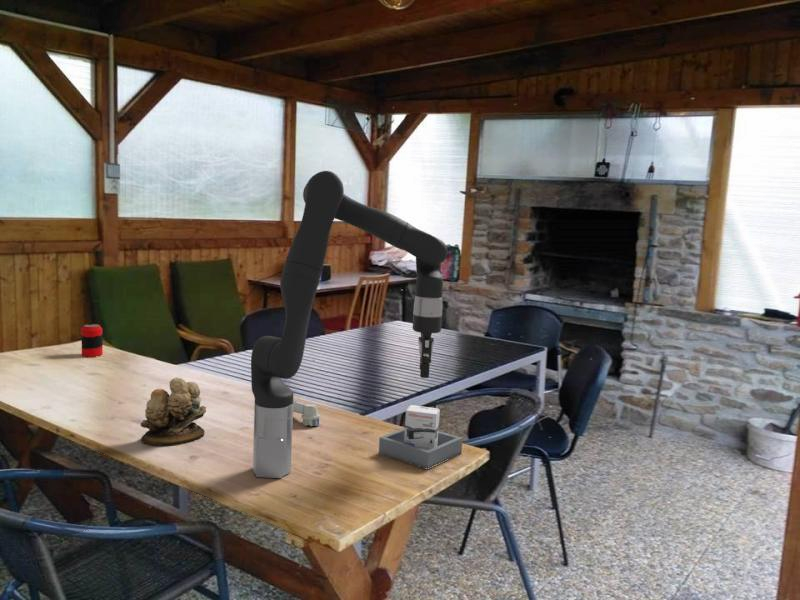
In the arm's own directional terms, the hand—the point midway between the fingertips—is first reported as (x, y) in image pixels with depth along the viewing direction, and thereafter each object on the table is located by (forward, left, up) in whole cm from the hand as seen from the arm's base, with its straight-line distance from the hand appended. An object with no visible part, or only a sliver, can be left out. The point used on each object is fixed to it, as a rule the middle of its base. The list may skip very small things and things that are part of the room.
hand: (423, 373), depth 186 cm
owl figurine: (+3, +67, -22) cm, 70 cm away
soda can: (+90, +127, -22) cm, 157 cm away
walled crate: (0, 0, -22) cm, 22 cm away
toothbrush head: (+27, +38, -23) cm, 52 cm away
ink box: (0, 0, -22) cm, 22 cm away
